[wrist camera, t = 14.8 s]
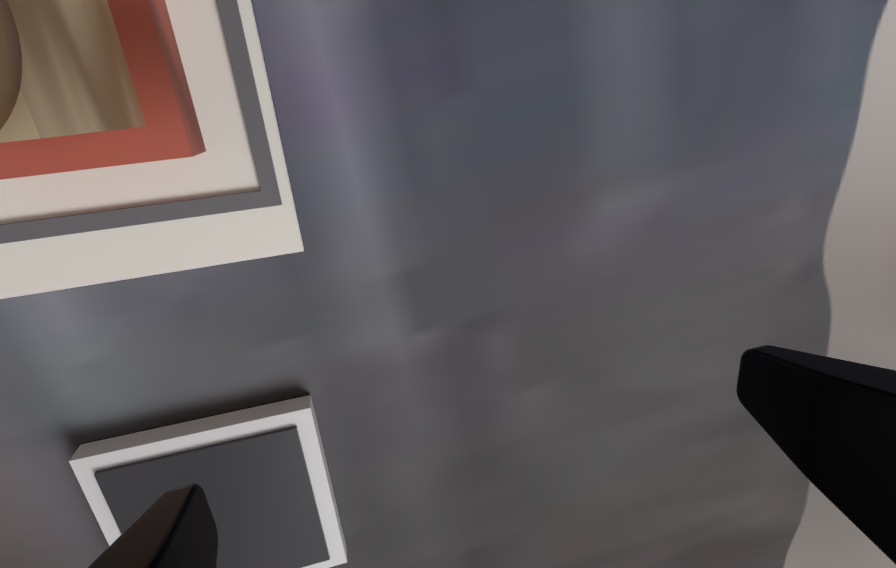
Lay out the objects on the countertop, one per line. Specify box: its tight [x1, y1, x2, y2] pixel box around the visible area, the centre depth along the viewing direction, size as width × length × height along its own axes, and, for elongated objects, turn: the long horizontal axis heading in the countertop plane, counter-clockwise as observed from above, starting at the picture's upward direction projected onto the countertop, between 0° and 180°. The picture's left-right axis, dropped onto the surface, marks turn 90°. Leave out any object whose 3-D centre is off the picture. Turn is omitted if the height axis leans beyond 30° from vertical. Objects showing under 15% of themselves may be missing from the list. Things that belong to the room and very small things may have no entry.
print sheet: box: [0, 0, 304, 299], centre depth 15 cm, size 14×11×1 cm
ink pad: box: [69, 395, 347, 568], centre depth 21 cm, size 9×9×1 cm
